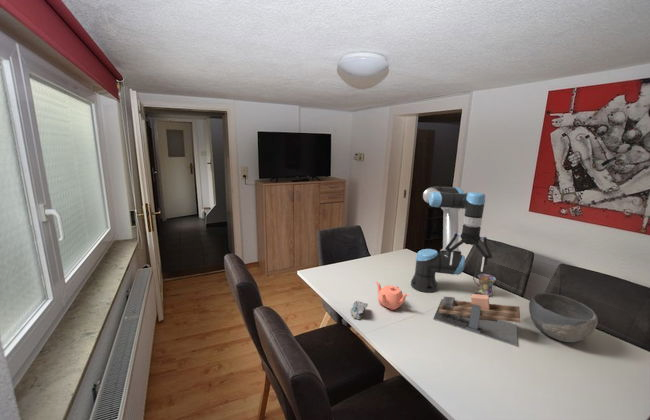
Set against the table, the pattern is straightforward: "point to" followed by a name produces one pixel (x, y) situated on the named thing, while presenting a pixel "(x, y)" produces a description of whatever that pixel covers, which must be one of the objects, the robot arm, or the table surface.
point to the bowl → (562, 317)
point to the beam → (494, 314)
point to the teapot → (390, 296)
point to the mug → (485, 284)
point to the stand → (481, 325)
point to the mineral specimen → (358, 309)
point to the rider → (481, 301)
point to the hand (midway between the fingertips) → (465, 267)
